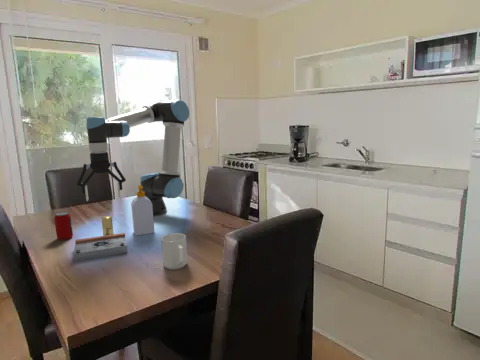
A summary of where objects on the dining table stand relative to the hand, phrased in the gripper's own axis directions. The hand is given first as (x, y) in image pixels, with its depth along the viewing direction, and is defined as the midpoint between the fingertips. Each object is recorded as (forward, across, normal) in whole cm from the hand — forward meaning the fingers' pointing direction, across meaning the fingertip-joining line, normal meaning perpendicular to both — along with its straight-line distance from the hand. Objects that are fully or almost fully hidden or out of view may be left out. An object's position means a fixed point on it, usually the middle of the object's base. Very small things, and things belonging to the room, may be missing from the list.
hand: (103, 198), depth 151 cm
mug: (+19, -24, +44) cm, 54 cm away
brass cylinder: (+19, 0, 0) cm, 19 cm away
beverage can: (+19, +19, -9) cm, 28 cm away
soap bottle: (+19, -16, -1) cm, 25 cm away
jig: (+19, +2, +15) cm, 24 cm away
